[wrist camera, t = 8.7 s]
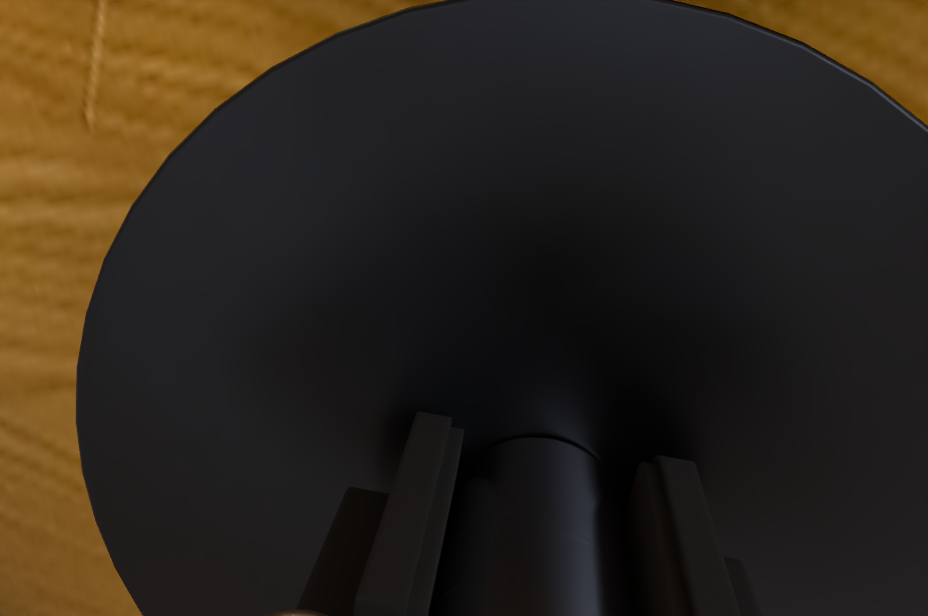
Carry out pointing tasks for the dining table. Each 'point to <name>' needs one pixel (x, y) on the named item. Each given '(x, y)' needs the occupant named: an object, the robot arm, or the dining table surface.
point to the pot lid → (523, 313)
